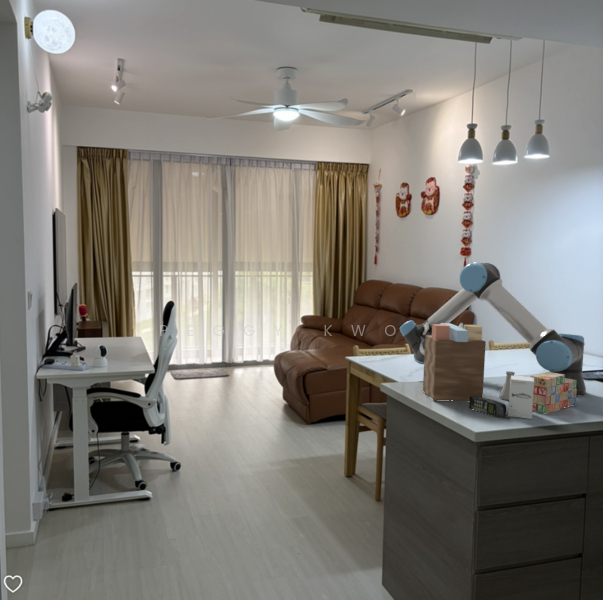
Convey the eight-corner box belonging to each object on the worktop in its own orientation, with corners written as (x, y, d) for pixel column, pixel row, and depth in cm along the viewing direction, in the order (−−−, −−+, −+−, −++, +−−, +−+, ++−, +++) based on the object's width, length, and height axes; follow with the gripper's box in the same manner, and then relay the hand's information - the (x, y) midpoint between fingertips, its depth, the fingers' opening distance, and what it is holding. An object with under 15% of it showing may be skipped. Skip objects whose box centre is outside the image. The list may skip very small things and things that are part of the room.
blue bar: (439, 333, 221) (440, 323, 221) (449, 333, 221) (450, 323, 221) (456, 341, 199) (456, 330, 199) (467, 342, 199) (468, 330, 199)
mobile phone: (468, 395, 193) (507, 404, 181) (473, 394, 195) (512, 403, 183) (467, 410, 193) (506, 419, 181) (473, 408, 195) (512, 418, 183)
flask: (520, 401, 205) (522, 374, 204) (500, 400, 207) (501, 373, 206) (517, 397, 212) (519, 370, 212) (497, 395, 214) (498, 369, 213)
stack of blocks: (558, 401, 207) (561, 368, 206) (575, 405, 203) (578, 371, 202) (527, 410, 194) (529, 375, 193) (545, 414, 189) (547, 378, 188)
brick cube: (431, 337, 208) (432, 324, 208) (445, 337, 208) (445, 324, 208) (435, 339, 203) (436, 325, 203) (449, 339, 203) (449, 326, 203)
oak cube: (463, 338, 209) (464, 324, 208) (476, 338, 209) (477, 325, 209) (468, 340, 204) (468, 326, 203) (481, 340, 204) (482, 326, 204)
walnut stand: (422, 391, 216) (425, 334, 215) (468, 392, 217) (471, 335, 216) (433, 401, 202) (436, 340, 201) (482, 401, 203) (485, 341, 202)
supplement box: (507, 416, 185) (509, 378, 184) (508, 411, 192) (510, 374, 191) (532, 419, 182) (534, 381, 181) (532, 414, 189) (534, 376, 188)
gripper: (460, 354, 237) (477, 335, 218) (402, 353, 236) (414, 333, 217) (458, 337, 240) (475, 317, 221) (400, 336, 239) (412, 316, 220)
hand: (445, 325), depth 219 cm, fingers open, 13 cm apart
